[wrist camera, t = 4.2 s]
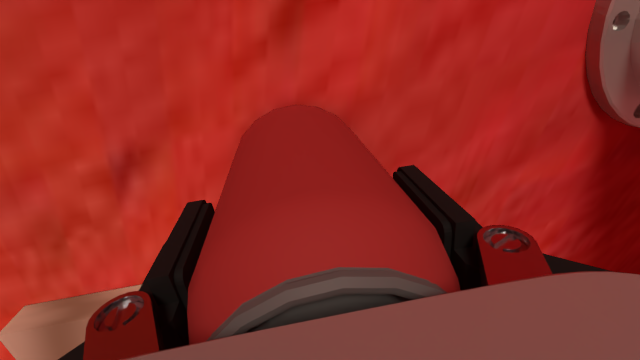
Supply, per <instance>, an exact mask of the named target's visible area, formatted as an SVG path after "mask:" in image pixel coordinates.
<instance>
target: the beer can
mask: <svg viewBox="0 0 640 360" xmlns="http://www.w3.org/2000/svg"><path fill="white" fill-rule="evenodd" d="M456 291H461V290H460V285H459V281H458V277H457V275H456V273H455V271H454V268H453V266H452V264H451V261H450V259H449V257H448V255H447V252H446V250H445V248H444V246H443V244H442V241H441V239H440V237H439V235H438V233H437V230H436V228H435V227H434V226H433V225H432V223H431V222H430V221H429V220H428V219H427V218H426V216H425V215H424V214H423V213H422V212H421V211H420V209H419V208H418V207H417V206H416V205H415V204H414V202H413V201H412V200H411V199H410V198H409V197H408V196H407V194H406V193H405V192H404V191H403V190H402V189H401V187H400V186H399V185H398V184H397V183H396V182H395V180H394V179H393V178H392V177H391V176H390V175H389V173H388V172H387V171H386V170H385V169H384V168H383V167H382V165H381V164H380V163H379V162H378V161H377V160H376V158H375V157H374V156H373V155H372V154H371V153H370V151H369V150H368V149H367V148H366V147H365V146H364V144H363V143H362V142H361V141H360V140H359V139H358V137H357V136H356V135H355V134H354V133H353V132H352V131H351V129H350V128H349V127H348V126H346V125H345V124H344V123H343V122H342V121H341V120H340V119H339V118H338V117H337V116H336V115H334V114H332V113H329V112H327V111H325V110H323V109H320V108H318V107H313V106H303V105H292V106H287V107H283V108H278V109H274V110H272V111H271V112H269V113H267V114H266V115H264V116H262V117H261V118H259V119H257V120H256V121H255V122H254V123H253V124H252V125H251V126H250V128H249V129H248V130H247V131H246V132H245V134H244V135H243V136H242V138H241V141H240V143H239V146H238V149H237V151H236V154H235V157H234V160H233V162H232V165H231V168H230V171H229V174H228V177H227V179H226V182H225V185H224V188H223V191H222V194H221V196H220V199H219V202H218V205H217V208H216V210H215V213H214V216H213V219H212V222H211V225H210V227H209V230H208V233H207V236H206V239H205V242H204V244H203V247H202V250H201V253H200V256H199V259H198V261H197V264H196V267H195V270H194V273H193V276H192V278H191V281H190V284H189V287H188V306H187V318H188V334H189V345H190V344H195V343H200V342H205V341H210V340H214V339H219V338H224V337H229V336H234V335H239V334H244V333H249V332H254V331H259V330H264V329H269V328H274V327H279V326H284V325H289V324H294V323H299V322H304V321H309V320H314V319H319V318H324V317H330V316H335V315H340V314H345V313H350V312H355V311H360V310H365V309H370V308H375V307H380V306H385V305H390V304H395V303H400V302H405V301H410V300H415V299H420V298H425V297H430V296H435V295H440V294H446V293H451V292H456Z"/></svg>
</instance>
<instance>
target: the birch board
mask: <svg viewBox="0 0 640 360" xmlns="http://www.w3.org/2000/svg"><path fill="white" fill-rule="evenodd" d="M140 287H141V285H137V286H131V287H126V288H120V289H115V290H110V291H104V292H99V293H93V294H88V295H82V296H77V297H71V298H66V299H60V300H55V301H50V302H44V303H39V304H33V305H28V306H24V307H23V308H22V309H21V310H20V311H19V313H18V314H17V315H16V316H15V317H14V318H13V319H12V320H11V321H10V322H9V323H8V324H7V325H6V326H5V327H4V328H3V329H2V331H1V332H0V341H1V342H2V343H3V344H4V346H5V347H6V348H7V349H8V350H9V352H10V353H11V354H12V355H13V357H14V358H15V359H16V360H58V359H59V358H61V357H62V356H64V355H65V354H67V353H68V352H70V351H71V350H73V349H74V348H76V347H77V346H78V345H80V344H81V343H83V342H84V341H85V334H86V326H87V323H88V321H89V319H90V318H91V316H92V315H93V313H95V312H96V311H97V310H98V309H99V308H100V307H101V306H102V305H104V304H105V303H106V302H108V301H109V300H111V299H113V298H115V297H117V296H119V295H122V294H125V293H127V292H133V291H139V289H140Z"/></svg>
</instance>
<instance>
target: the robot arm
mask: <svg viewBox="0 0 640 360" xmlns="http://www.w3.org/2000/svg"><path fill="white" fill-rule="evenodd" d="M585 56H586V71H587V78H588V82H589V85H590V88H591V92H592V95H593V96H594V98H595V100H596V101H597V103H598V104H599V106H600V108H601V109H602V110H603V111H604V112H606V113H607V114H608V115H609V116H610V117H611V118H613V119H615V120H617V121H619V122H621V123H623V124H625V125H630V126H634V127H639V128H640V0H596V3H595V6H594V10H593V14H592V17H591V21H590V25H589V29H588V36H587V45H586V54H585ZM393 179H394V180H395V182H396V183H397V184H398V185H399V186H400V187H401V189H402V190H403V191H404V192H405V193H406V194H407V196H408V197H409V198H410V199H411V200H412V201H413V202H414V204H415V205H416V206H417V207H418V208H419V209H420V211H421V212H422V213H423V214H424V215H425V216H426V218H427V219H428V220H429V221H430V222H431V223H432V225H433V226H434V227H435V228H436V230H437V233H438V235H439V237H440V239H441V241H442V244H443V246H444V248H445V250H446V252H447V255H448V257H449V259H450V261H451V264H452V266H453V268H454V271H455V273H456V275H457V277H458V281H459V285H460V290H461V291H456V292H451V293H446V294H440V295H435V296H430V297H425V298H420V299H415V300H410V301H405V302H400V303H395V304H390V305H385V306H380V307H375V308H370V309H365V310H360V311H355V312H350V313H345V314H340V315H335V316H330V317H324V318H319V319H314V320H309V321H304V322H299V323H294V324H289V325H284V326H279V327H274V328H269V329H264V330H259V331H254V332H249V333H244V334H239V335H234V336H229V337H224V338H219V339H214V340H210V341H205V342H200V343H195V344H190V345H189V334H188V318H187V306H188V287H189V284H190V281H191V278H192V276H193V273H194V270H195V267H196V264H197V261H198V259H199V256H200V253H201V250H202V247H203V244H204V242H205V239H206V236H207V233H208V230H209V227H210V225H211V222H212V219H213V216H214V213H215V212H214V208H213V206H212V204H211V203H206V201H205V200H200V201H194V202H188V203H187V205H186V206H185V208H184V210H183V212H182V214H181V216H180V217H179V219H178V221H177V223H176V225H175V227H174V228H173V230H172V232H171V234H170V236H169V238H168V240H167V241H166V243H165V244H164V245H163V247H162V249H161V251H160V253H159V254H158V256H157V258H156V260H155V262H154V263H153V265H152V267H151V269H150V271H149V273H148V274H147V276H146V278H145V280H144V282H143V284H142V285H141V287H140V289H139V291H133V292H127V293H125V294H122V295H119V296H117V297H115V298H113V299H111V300H109V301H108V302H106V303H105V304H104V305H102V306H101V307H100V308H99V309H98V310H97V311H96V312H95V313H93V315H92V316H91V318H90V319H89V321H88V323H87V326H86V334H85V341H84V342H83V343H81V344H80V345H78V346H77V347H76V348H74V349H73V350H71V351H70V352H68V353H67V354H65V355H64V356H62V357H61V358H59V359H58V360H640V275H639V274H631V273H620V272H612V271H608V270H604V269H601V268H597V267H593V266H589V265H585V264H581V263H577V262H573V261H570V260H566V259H562V258H558V257H554V256H550V255H546V254H542V252H541V250H540V248H539V246H538V244H537V242H536V240H535V239H534V238H533V237H532V236H531V235H529V234H528V233H527V232H525V231H522V230H520V229H518V228H514V227H511V226H505V225H490V226H486V227H484V228H483V227H482V226H481V225H480V224H478V223H477V222H476V221H475V219H474V218H473V217H472V216H471V215H470V214H469V213H467V212H466V211H465V210H464V209H463V208H462V207H461V206H459V205H458V204H457V203H456V202H455V201H454V200H453V199H452V198H450V197H449V196H448V195H447V194H446V193H445V192H444V191H443V190H441V189H440V188H439V187H438V186H437V185H436V184H435V183H434V182H432V181H431V180H430V179H429V178H428V177H427V176H426V175H425V174H423V173H422V172H421V171H420V170H419V169H418V168H417V167H416V166H414V165H411V166H405V167H399V168H398V170H397V172H394V173H393Z"/></svg>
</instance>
